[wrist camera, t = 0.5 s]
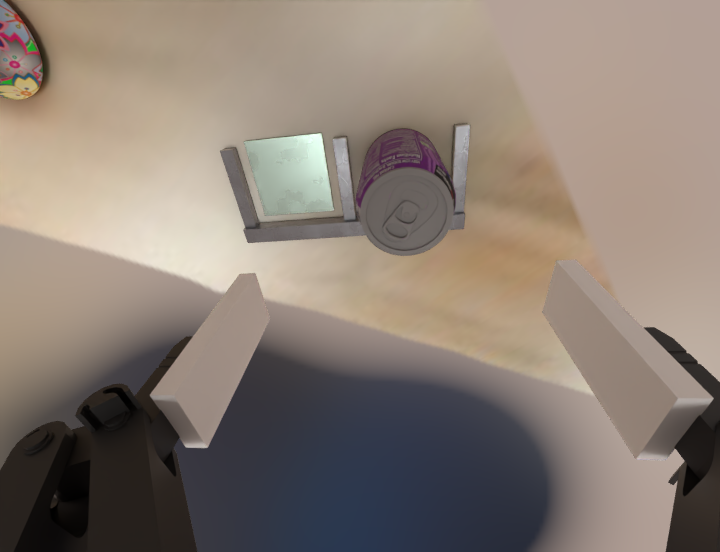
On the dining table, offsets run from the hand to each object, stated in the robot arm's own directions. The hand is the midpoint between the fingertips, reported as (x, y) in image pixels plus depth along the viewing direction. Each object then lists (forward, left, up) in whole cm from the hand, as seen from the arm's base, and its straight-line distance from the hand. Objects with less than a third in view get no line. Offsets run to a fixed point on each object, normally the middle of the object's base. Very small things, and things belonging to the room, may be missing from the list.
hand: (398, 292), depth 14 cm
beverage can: (0, +1, -20) cm, 20 cm away
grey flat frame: (+1, -5, -20) cm, 21 cm away
